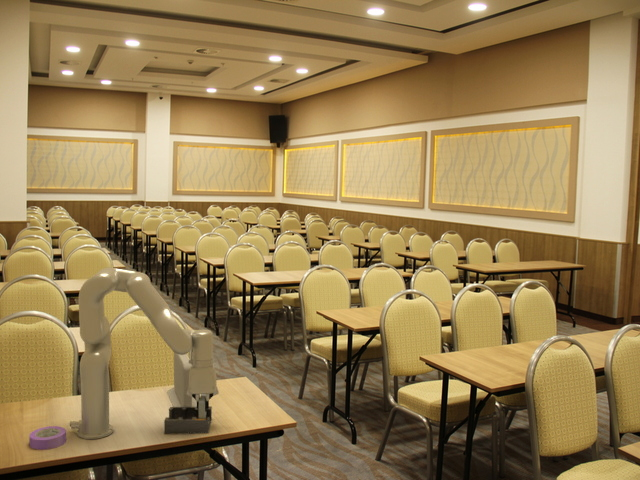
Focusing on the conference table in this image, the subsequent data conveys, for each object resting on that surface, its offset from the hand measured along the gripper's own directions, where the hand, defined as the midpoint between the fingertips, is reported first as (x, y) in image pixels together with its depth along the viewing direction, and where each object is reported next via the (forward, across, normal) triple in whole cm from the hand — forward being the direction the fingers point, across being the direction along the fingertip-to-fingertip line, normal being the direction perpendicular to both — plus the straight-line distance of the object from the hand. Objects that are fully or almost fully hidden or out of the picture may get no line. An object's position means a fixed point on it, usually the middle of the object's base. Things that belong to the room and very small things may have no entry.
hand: (202, 410), depth 228 cm
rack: (+6, -5, 0) cm, 8 cm away
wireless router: (+6, -11, +29) cm, 32 cm away
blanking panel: (+3, 0, 0) cm, 3 cm away
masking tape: (+6, -52, -13) cm, 54 cm away
